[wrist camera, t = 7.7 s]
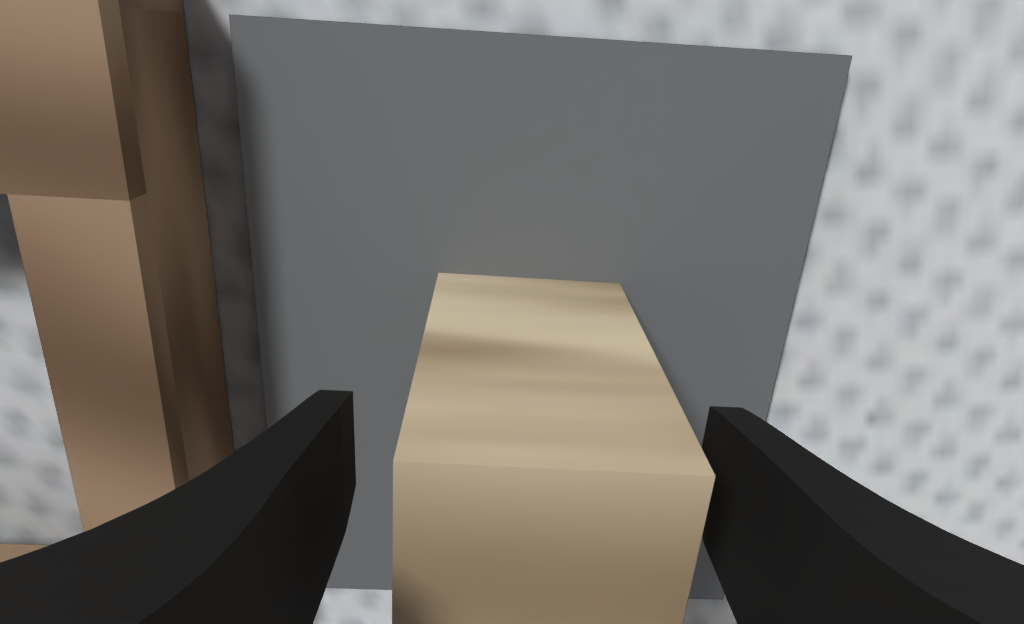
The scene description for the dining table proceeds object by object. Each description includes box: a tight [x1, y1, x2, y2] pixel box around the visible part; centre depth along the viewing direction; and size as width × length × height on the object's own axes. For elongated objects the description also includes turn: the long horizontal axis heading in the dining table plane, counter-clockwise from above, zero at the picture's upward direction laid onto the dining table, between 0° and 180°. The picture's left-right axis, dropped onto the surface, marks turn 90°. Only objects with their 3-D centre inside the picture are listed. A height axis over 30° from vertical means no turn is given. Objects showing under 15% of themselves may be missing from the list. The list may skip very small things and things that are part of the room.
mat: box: [229, 15, 852, 599], centre depth 16 cm, size 14×12×1 cm
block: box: [392, 273, 715, 624], centre depth 12 cm, size 4×4×7 cm
